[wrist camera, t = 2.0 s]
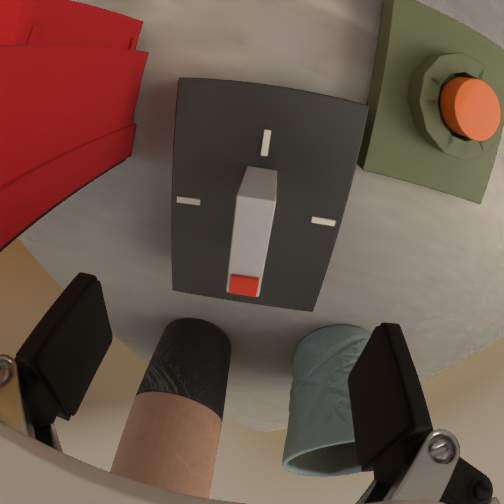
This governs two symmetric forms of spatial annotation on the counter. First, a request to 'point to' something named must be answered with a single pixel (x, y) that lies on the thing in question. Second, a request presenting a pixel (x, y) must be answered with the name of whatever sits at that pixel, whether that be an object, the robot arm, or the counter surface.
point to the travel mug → (178, 411)
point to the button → (470, 108)
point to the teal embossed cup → (323, 403)
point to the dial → (251, 231)
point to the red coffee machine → (62, 103)
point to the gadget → (268, 157)
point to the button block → (428, 101)
